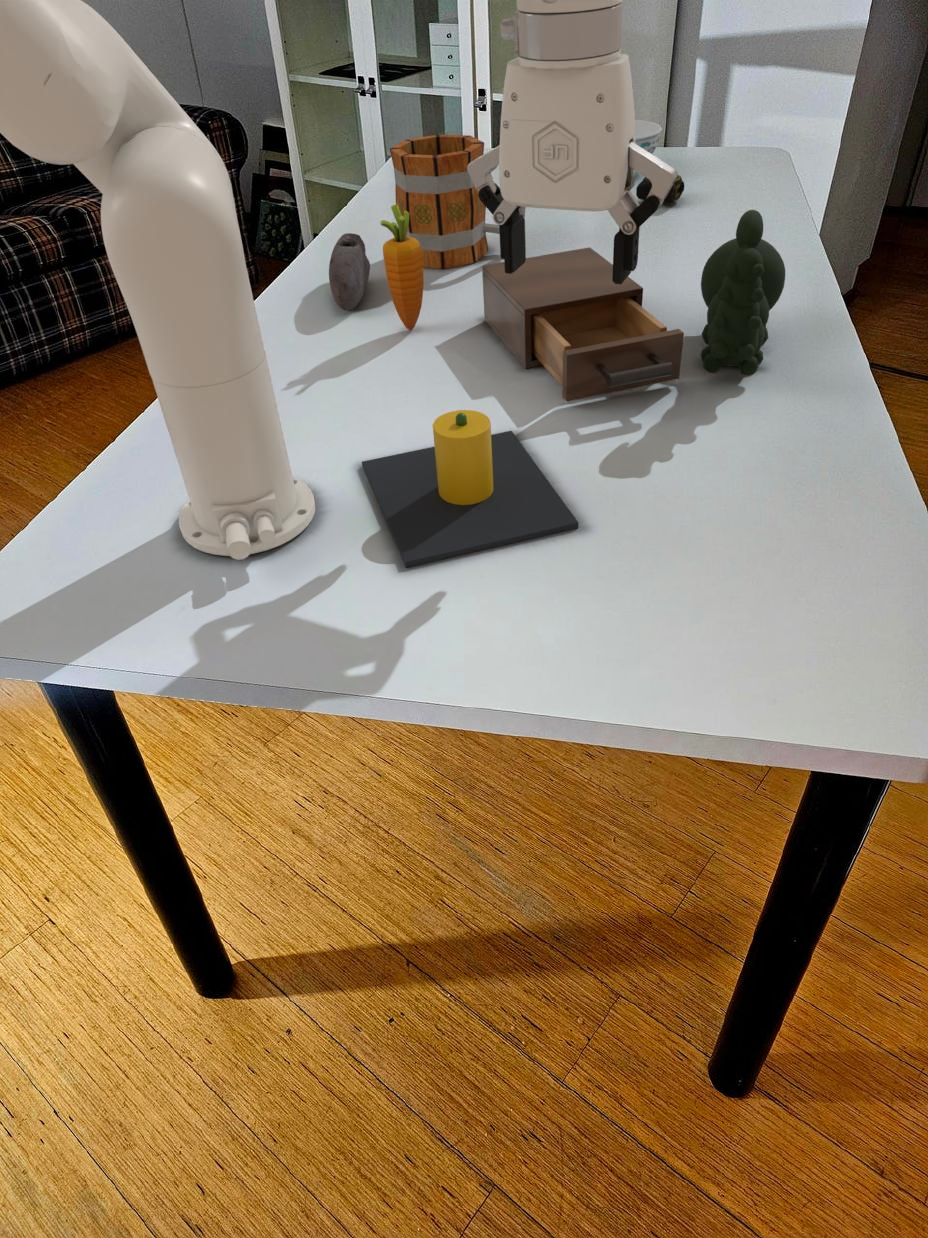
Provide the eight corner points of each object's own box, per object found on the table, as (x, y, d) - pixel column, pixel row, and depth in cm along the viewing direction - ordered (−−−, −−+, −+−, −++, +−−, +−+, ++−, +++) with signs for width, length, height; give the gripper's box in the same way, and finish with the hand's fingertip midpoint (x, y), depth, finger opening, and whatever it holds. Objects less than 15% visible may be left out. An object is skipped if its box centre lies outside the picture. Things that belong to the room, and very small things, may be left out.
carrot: (424, 338, 112) (412, 213, 103) (386, 337, 113) (371, 213, 104) (433, 322, 116) (422, 200, 106) (396, 321, 117) (383, 201, 107)
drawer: (697, 394, 95) (703, 347, 91) (581, 419, 92) (582, 371, 89) (623, 330, 109) (626, 286, 105) (520, 349, 106) (519, 306, 103)
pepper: (500, 498, 83) (497, 420, 77) (447, 509, 82) (440, 432, 76) (483, 470, 86) (479, 395, 81) (432, 481, 85) (425, 406, 80)
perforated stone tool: (363, 319, 118) (355, 266, 114) (324, 321, 119) (315, 268, 114) (375, 278, 130) (369, 229, 125) (340, 280, 130) (332, 231, 125)
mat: (578, 527, 79) (578, 522, 79) (405, 567, 76) (404, 562, 76) (511, 435, 92) (511, 430, 92) (362, 466, 90) (361, 461, 89)
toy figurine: (769, 412, 96) (777, 303, 113) (801, 237, 83) (806, 142, 99) (680, 405, 99) (701, 299, 115) (698, 234, 85) (719, 142, 101)
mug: (397, 271, 131) (385, 160, 121) (403, 241, 141) (392, 137, 132) (530, 263, 130) (529, 151, 120) (526, 234, 140) (525, 128, 131)
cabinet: (639, 346, 107) (643, 287, 102) (525, 368, 104) (524, 309, 100) (588, 301, 118) (590, 246, 114) (484, 320, 116) (481, 265, 111)
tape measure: (633, 204, 149) (634, 180, 146) (651, 193, 153) (653, 169, 150) (670, 209, 145) (672, 185, 143) (688, 197, 149) (691, 173, 147)
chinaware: (606, 193, 154) (608, 144, 149) (558, 175, 164) (559, 129, 159) (675, 177, 159) (679, 129, 154) (624, 160, 169) (627, 115, 164)
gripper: (440, 46, 65) (457, 279, 76) (672, 45, 59) (654, 299, 70) (482, 28, 70) (492, 250, 81) (700, 26, 64) (679, 266, 75)
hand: (567, 273), depth 76 cm, fingers open, 9 cm apart
